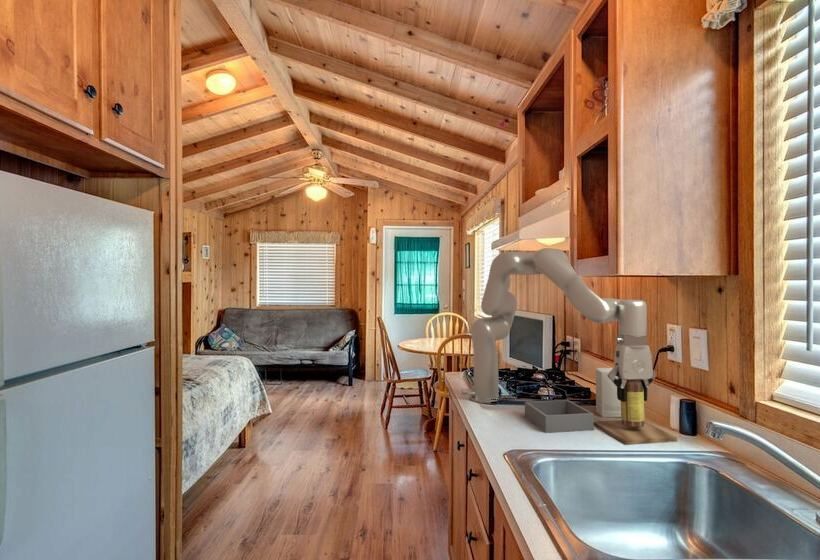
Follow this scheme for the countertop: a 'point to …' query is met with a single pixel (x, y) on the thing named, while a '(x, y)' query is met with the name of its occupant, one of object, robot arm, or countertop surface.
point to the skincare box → (606, 394)
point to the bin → (559, 416)
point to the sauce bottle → (633, 404)
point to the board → (634, 432)
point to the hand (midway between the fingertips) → (632, 399)
